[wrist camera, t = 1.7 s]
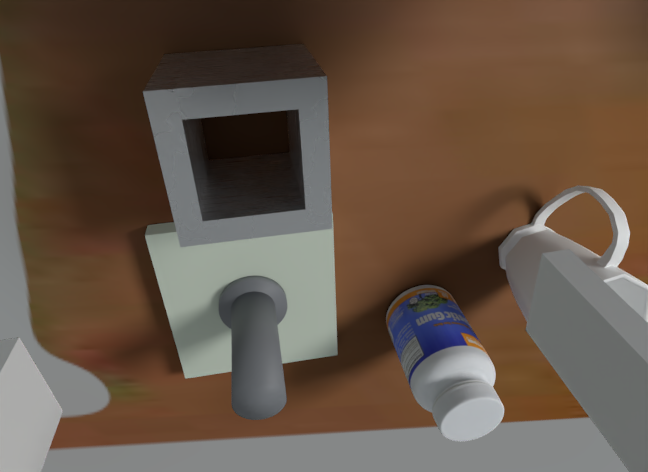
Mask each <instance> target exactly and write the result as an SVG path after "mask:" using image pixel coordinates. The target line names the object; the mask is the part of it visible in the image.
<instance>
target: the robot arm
mask: <svg viewBox="0 0 648 472" xmlns="http://www.w3.org/2000/svg"><path fill="white" fill-rule="evenodd" d="M526 331H527V333H528V334H529V335H530V337H531V338H532V339H533V341H534V342H535V343H536V345H537V346H538V348H539V349H540V350H541V352H542V353H543V354H544V356H545V357H546V358H547V360H548V361H549V363H550V364H551V365H552V367H553V368H554V369H555V371H556V372H557V373H558V375H559V376H560V378H561V379H562V380H563V382H564V383H565V384H566V386H567V387H568V388H569V390H570V391H571V393H572V394H573V395H574V397H575V398H576V399H577V401H578V402H579V404H580V405H581V406H582V408H583V409H584V410H585V412H586V413H587V414H588V416H589V417H590V419H591V420H592V421H593V423H594V424H595V425H596V427H597V428H598V429H599V431H600V432H601V433H602V435H603V436H604V438H605V439H606V440H607V442H608V443H609V444H610V446H611V447H612V448H613V450H614V451H615V453H616V454H617V455H618V457H619V458H620V460H621V461H622V462H623V463H624V465H625V466H626V468H627V469H628V470H629V472H648V323H647V322H646V321H645V320H644V319H643V318H642V317H641V316H640V315H639V314H638V313H637V312H636V311H635V310H634V309H633V308H632V307H630V306H629V305H628V304H627V303H626V302H625V301H624V300H623V299H622V298H621V297H620V296H619V295H618V294H617V293H616V292H615V291H614V290H612V289H611V288H610V287H609V286H608V285H607V284H606V283H605V282H604V281H603V280H602V279H601V278H600V277H599V276H598V275H597V274H596V273H594V272H593V271H592V270H591V269H590V268H589V267H588V266H587V265H586V264H585V263H584V262H583V261H582V260H581V259H580V258H579V257H578V256H576V255H575V254H574V253H573V252H572V251H571V250H570V249H567V250H560V251H554V252H548V253H542V256H541V261H540V266H539V270H538V275H537V280H536V284H535V289H534V294H533V298H532V303H531V308H530V312H529V317H528V322H527V326H526ZM62 412H63V410H62V409H61V407H60V405H59V404H58V402H57V400H56V398H55V397H54V395H53V393H52V392H51V390H50V388H49V387H48V385H47V383H46V382H45V380H44V378H43V376H42V375H41V373H40V371H39V370H38V368H37V366H36V365H35V363H34V361H33V360H32V358H31V356H30V355H29V353H28V351H27V349H26V348H25V346H24V344H23V343H22V342H21V339H20V338H19V337H17V338H10V339H4V340H0V472H41V470H42V467H43V464H44V462H45V459H46V456H47V453H48V451H49V448H50V445H51V442H52V440H53V437H54V434H55V431H56V429H57V426H58V423H59V420H60V417H61V415H62Z"/></svg>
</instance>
